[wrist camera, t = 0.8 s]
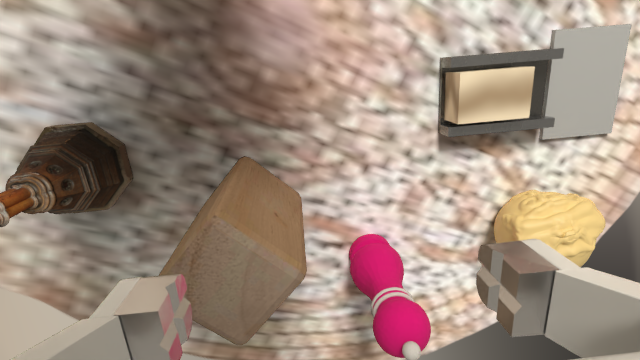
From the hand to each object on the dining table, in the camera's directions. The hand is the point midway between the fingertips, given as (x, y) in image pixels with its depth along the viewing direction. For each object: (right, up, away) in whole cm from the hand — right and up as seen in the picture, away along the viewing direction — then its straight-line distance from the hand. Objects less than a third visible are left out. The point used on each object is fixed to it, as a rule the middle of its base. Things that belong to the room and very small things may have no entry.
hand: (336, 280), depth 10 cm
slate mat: (+35, +16, +37) cm, 53 cm away
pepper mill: (+7, -8, +43) cm, 44 cm away
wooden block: (-10, 0, +39) cm, 40 cm away
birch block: (+20, +14, +36) cm, 44 cm away
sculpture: (+30, -3, +43) cm, 52 cm away
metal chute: (+22, +14, +36) cm, 45 cm away
